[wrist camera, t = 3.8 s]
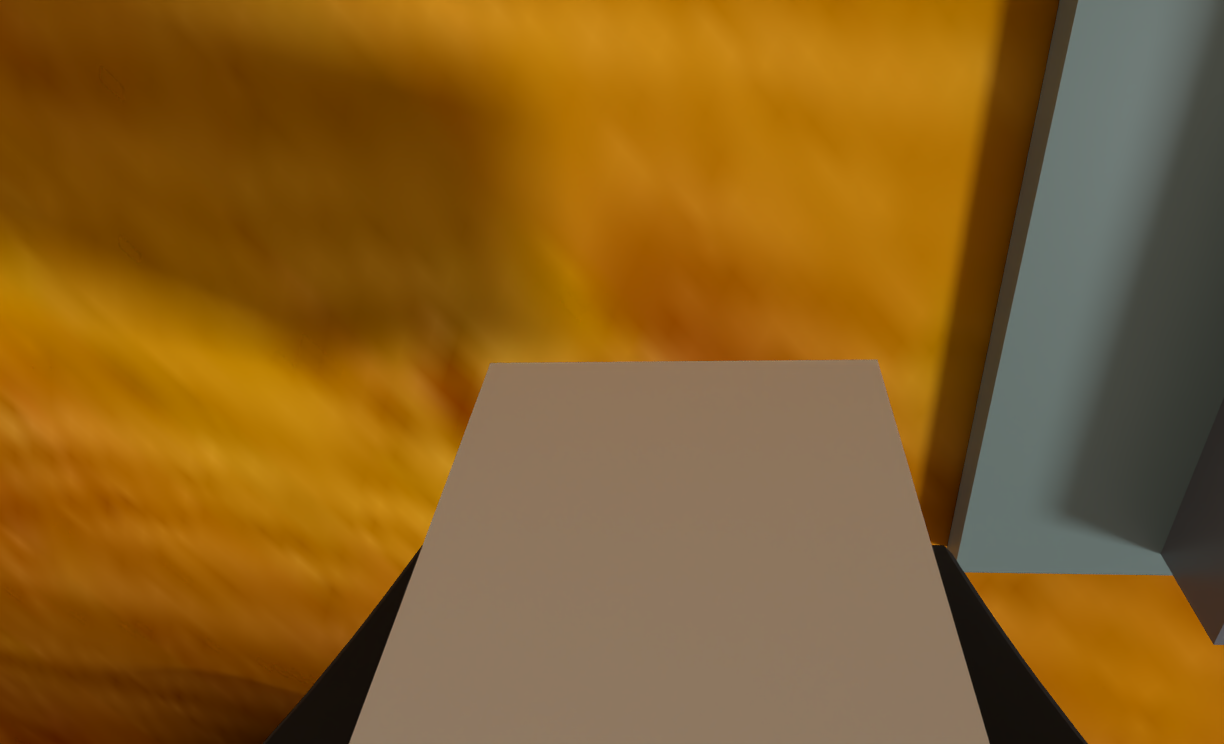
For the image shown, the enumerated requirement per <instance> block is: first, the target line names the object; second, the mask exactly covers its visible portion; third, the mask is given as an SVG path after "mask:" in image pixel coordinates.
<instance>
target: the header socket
mask: <svg viewBox="0 0 1224 744" xmlns="http://www.w3.org/2000/svg"><path fill="white" fill-rule="evenodd" d="M947 549H948V550H949V551H950V552H951V553H952V554H953V555H954V557H955V559H956V560H957V562H958V563H959V565H960V567H961V568H962V570H963V571H964V572H990V573H1057V574H1125V575H1173V576H1174V578H1175V579H1176V581H1177V583H1178V585H1179V586H1180V588H1181V590H1182V591H1183V593H1184V595H1185V597H1186V598H1187V600H1188V602H1189V603H1190V605H1191V607H1192V608H1193V610H1194V612H1195V614H1196V615H1197V617H1198V619H1199V620H1200V622H1201V624H1202V626H1203V627H1204V629H1205V631H1206V632H1207V634H1208V636H1209V638H1210V639H1211V641H1212V643H1213V644H1214V645H1224V0H1060V2H1059V7H1058V11H1057V16H1056V21H1055V26H1054V31H1053V36H1052V41H1051V45H1050V50H1049V55H1048V60H1047V65H1046V70H1045V75H1044V79H1043V84H1042V89H1041V94H1040V99H1039V104H1038V109H1037V114H1036V118H1035V123H1034V128H1033V133H1032V138H1031V143H1030V148H1029V152H1028V157H1027V162H1026V167H1025V172H1024V177H1023V182H1022V186H1021V191H1020V196H1019V201H1018V206H1017V211H1016V216H1015V220H1014V225H1013V230H1012V235H1011V240H1010V245H1009V250H1008V254H1007V259H1006V264H1005V269H1004V274H1003V279H1002V284H1001V288H1000V293H999V298H998V303H997V308H996V313H995V318H994V322H993V327H992V332H991V337H990V342H989V347H988V352H987V356H986V361H985V366H984V371H983V376H982V381H981V386H980V390H979V395H978V400H977V405H976V410H975V415H974V420H973V424H972V429H971V434H970V439H969V444H968V449H967V454H966V459H965V463H964V468H963V473H962V478H961V483H960V488H959V493H958V497H957V502H956V507H955V512H954V517H953V522H952V527H951V531H950V536H949V541H948V546H947Z"/></svg>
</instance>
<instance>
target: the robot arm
mask: <svg viewBox="0 0 1224 744" xmlns="http://www.w3.org/2000/svg"><path fill="white" fill-rule="evenodd" d="M422 546H423V545H422ZM422 546H421V548H420V549H419V550H418V552H417V553H416V554H415V556H414V557H413V558H412V560H411V561H410V562H409V564H408V565H407V566H406V568H405V569H404V570H403V572H402V573H401V574H400V576H399V577H398V578H397V580H396V581H395V582H394V584H393V585H392V586H391V588H390V589H389V590H388V592H387V593H386V594H385V596H384V597H383V598H382V600H381V601H380V602H379V604H378V605H377V606H376V608H375V609H374V610H373V611H372V613H371V614H370V615H369V617H368V618H367V619H366V620H365V622H364V623H363V624H362V626H361V627H360V628H359V629H358V631H357V632H356V633H355V635H354V636H353V637H352V638H351V640H350V641H349V642H348V643H347V645H346V646H345V647H344V648H343V649H342V651H341V652H340V653H339V654H338V656H337V657H336V658H335V659H334V660H333V662H332V663H331V664H330V665H329V667H328V668H327V669H326V670H325V672H324V673H323V674H322V675H321V676H320V678H319V679H318V680H317V681H316V683H315V684H314V685H313V686H312V687H311V689H310V690H309V691H308V692H307V694H306V695H305V696H304V697H303V698H302V699H301V701H300V702H299V703H298V704H297V705H296V706H295V708H294V709H293V710H292V711H291V712H290V713H289V714H288V716H287V717H286V718H285V719H284V720H283V721H282V722H281V723H280V724H279V726H278V727H277V728H276V729H275V730H274V731H273V732H272V733H271V735H270V736H269V737H268V738H267V739H266V740H265V741H264V742H263V744H349V742H350V740H351V737H352V734H353V732H354V729H355V726H356V724H357V721H358V718H359V715H360V713H361V710H362V707H363V705H364V702H365V699H366V697H367V694H368V691H369V689H370V686H371V683H372V681H373V678H374V675H375V672H376V670H377V667H378V664H379V662H380V659H381V656H382V654H383V651H384V648H385V646H386V643H387V640H388V638H389V635H390V632H391V629H392V627H393V624H394V621H395V619H396V616H397V613H398V611H399V608H400V605H401V603H402V600H403V597H404V594H405V592H406V589H407V586H408V584H409V581H410V578H411V576H412V573H413V570H414V568H415V565H416V562H417V560H418V557H419V554H420V551H421V549H422ZM932 548H933V552H934V555H935V559H936V562H937V566H938V569H939V572H940V576H941V579H942V583H943V586H944V589H945V593H946V596H947V600H948V603H949V606H950V610H951V613H952V617H953V620H954V623H955V627H956V630H957V634H958V637H959V641H960V644H961V647H962V651H963V654H964V658H965V661H966V664H967V668H968V671H969V675H970V678H971V681H972V685H973V688H974V692H975V695H976V699H977V702H978V705H979V709H980V712H981V716H982V719H983V722H984V726H985V729H986V733H987V736H988V739H989V743H990V744H1088V743H1087V742H1086V741H1085V740H1084V738H1083V737H1082V736H1081V735H1080V733H1079V732H1078V731H1077V729H1076V728H1075V727H1074V725H1073V724H1072V723H1071V722H1070V720H1069V719H1068V718H1067V716H1066V715H1065V714H1064V712H1063V711H1062V710H1061V708H1060V707H1059V706H1058V705H1057V703H1056V702H1055V701H1054V699H1053V698H1052V697H1051V695H1050V694H1049V693H1048V691H1047V690H1046V689H1045V688H1044V686H1043V685H1042V684H1041V682H1040V681H1039V680H1038V678H1037V677H1036V676H1035V674H1034V673H1033V672H1032V670H1031V669H1030V667H1029V666H1028V665H1027V663H1026V662H1025V661H1024V659H1023V658H1022V656H1021V655H1020V654H1019V652H1018V651H1017V649H1016V648H1015V647H1014V645H1013V644H1012V642H1011V641H1010V639H1009V638H1008V637H1007V635H1006V634H1005V632H1004V631H1003V630H1002V628H1001V627H1000V625H999V624H998V622H997V621H996V619H995V618H994V617H993V615H992V614H991V612H990V611H989V609H988V608H987V606H986V605H985V603H984V602H983V600H982V599H981V597H980V596H979V594H978V593H977V591H976V590H975V588H974V587H973V585H972V584H971V582H970V581H969V579H968V578H967V576H966V574H965V573H964V571H963V570H962V568H961V567H960V565H959V563H958V562H957V560H956V559H955V557H954V555H953V554H952V553H951V552H950V551H949V550H948V549H947V548H946V547H945V546H944V545H932Z"/></svg>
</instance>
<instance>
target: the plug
mask: <svg viewBox="0 0 1224 744" xmlns="http://www.w3.org/2000/svg"><path fill="white" fill-rule="evenodd" d="M349 744H990V743H989V739H988V736H987V733H986V729H985V726H984V722H983V719H982V716H981V712H980V709H979V705H978V702H977V699H976V695H975V692H974V688H973V685H972V681H971V678H970V675H969V671H968V668H967V664H966V661H965V658H964V654H963V651H962V647H961V644H960V641H959V637H958V634H957V630H956V627H955V623H954V620H953V617H952V613H951V610H950V606H949V603H948V600H947V596H946V593H945V589H944V586H943V583H942V579H941V576H940V572H939V569H938V566H937V562H936V559H935V555H934V552H933V548H932V545H931V542H930V538H929V535H928V531H927V528H926V525H925V521H924V518H923V514H922V511H921V508H920V504H919V501H918V497H917V494H916V490H915V487H914V484H913V480H912V477H911V473H910V470H909V467H908V463H907V460H906V456H905V453H904V450H903V446H902V443H901V439H900V436H899V432H898V429H897V426H896V422H895V419H894V415H893V412H892V409H891V405H890V402H889V398H888V395H887V392H886V388H885V385H884V381H883V378H882V374H881V371H880V368H879V364H878V361H877V360H785V361H671V362H558V363H490V366H489V369H488V371H487V374H486V377H485V379H484V382H483V385H482V387H481V390H480V393H479V396H478V398H477V401H476V404H475V406H474V409H473V412H472V414H471V417H470V420H469V422H468V425H467V428H466V430H465V433H464V436H463V439H462V441H461V444H460V447H459V449H458V452H457V455H456V457H455V460H454V463H453V465H452V468H451V471H450V473H449V476H448V479H447V482H446V484H445V487H444V490H443V492H442V495H441V498H440V500H439V503H438V506H437V508H436V511H435V514H434V517H433V519H432V522H431V525H430V527H429V530H428V533H427V535H426V538H425V541H424V543H423V546H422V549H421V551H420V554H419V557H418V560H417V562H416V565H415V568H414V570H413V573H412V576H411V578H410V581H409V584H408V586H407V589H406V592H405V594H404V597H403V600H402V603H401V605H400V608H399V611H398V613H397V616H396V619H395V621H394V624H393V627H392V629H391V632H390V635H389V638H388V640H387V643H386V646H385V648H384V651H383V654H382V656H381V659H380V662H379V664H378V667H377V670H376V672H375V675H374V678H373V681H372V683H371V686H370V689H369V691H368V694H367V697H366V699H365V702H364V705H363V707H362V710H361V713H360V715H359V718H358V721H357V724H356V726H355V729H354V732H353V734H352V737H351V740H350V742H349Z"/></svg>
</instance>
